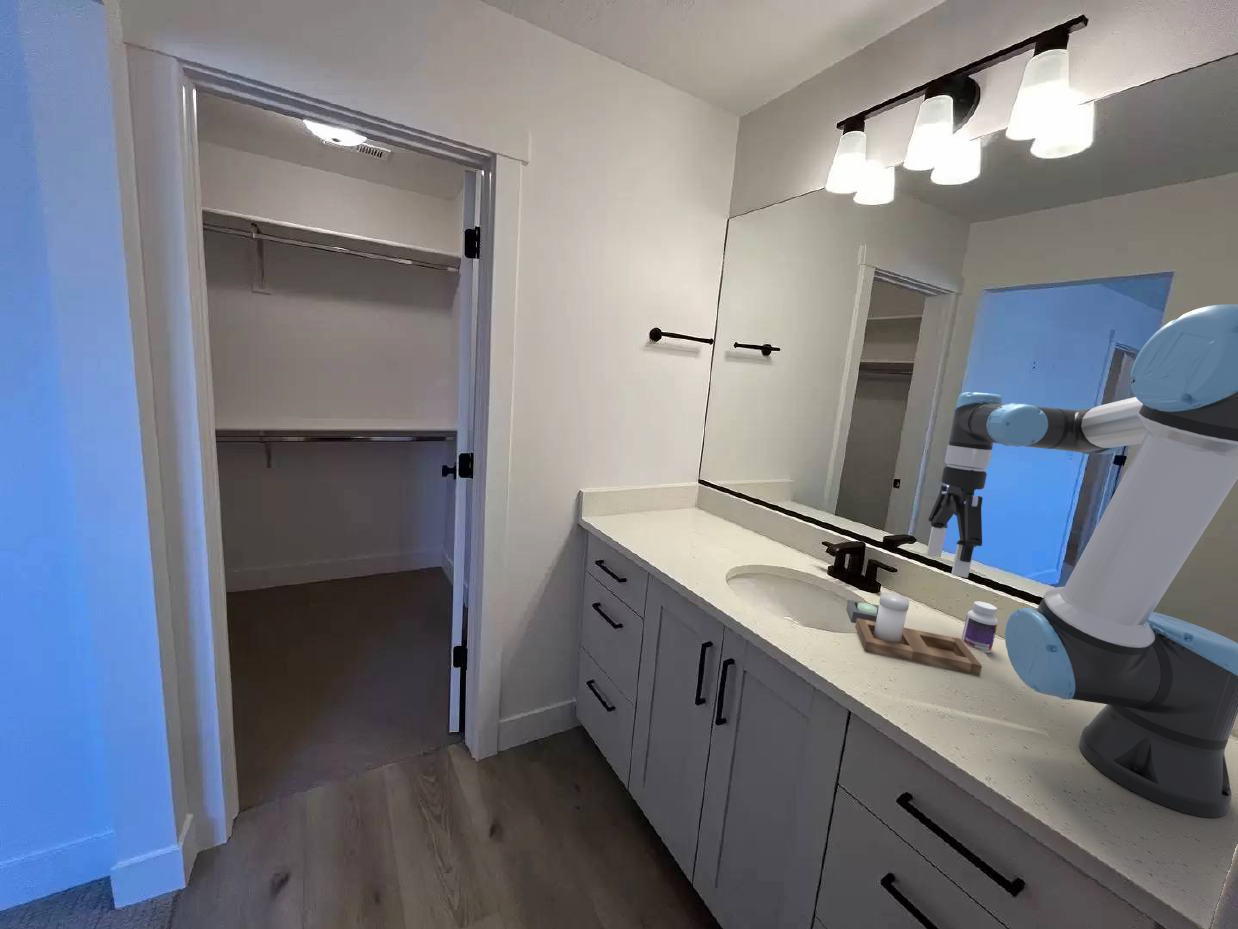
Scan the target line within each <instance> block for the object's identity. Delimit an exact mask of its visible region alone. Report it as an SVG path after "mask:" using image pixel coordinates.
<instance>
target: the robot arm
mask: <svg viewBox="0 0 1238 929" xmlns="http://www.w3.org/2000/svg"><path fill="white" fill-rule="evenodd" d="M1130 379H1131V380H1133V381H1134V382H1133V383H1131V386H1130V387H1131V392H1132V394H1133V396H1134V397H1130V398H1125V399H1121V400H1118V401H1112V402H1110V403H1106V404H1101V405H1097V406H1092V407H1087V408H1085V409H1067V408H1059V407H1058V408H1056V407H1055V408H1054V407H1046V406H1037V405H1032V404H1027V403H1018V402H1011V403H1003V397H1002V396H1001V394H995V393H986V392H970V391H967V392H962V393H960V394H959V395H958V399H957V402H956V404H955V406H956V407H955V408H954V410H953V412H954V414H953V419H952V425H951V430H950V436H949V440H948V441H949V442H948V444H947V447H946V453H945V457H944V463H945V464H947V465H945V466H944V467H943V470H942V476H941V480H940V481H941V483H942V484H941V486H940V489H939V494H938V496H937V498H936V501H935V503H934V506H933V507H932V510H931V512H930V515H929V517H928V522H930V526H931V528H930V533H929V534H930V535H929V539H928V544H927V545H928V546H927V548H926V555H927V556H929V557H930V556H931V557H937V558H942V553H943V547H944V542H945V537H946V532H947V529H948V528H949V527H948V526H949V525H948V523H949V521H950V520H951V519H952V517H953V516H954V515H955V516H956V520H957V526H958V527H957V528H958V534H959V535H958V536H959V540H958V541H957V542H956V548H955V549H956V550H955V553H954V557H953V558H954V559H953V563H952V564H953V565H952V570H951V576H954V577H961V578H968V577H969V574H970V568H971V564H972V559H973V556H974V555H973V554H974V551H975V550H974V549H975V548H976V547H982V546H983V530H982V528H983V527H982V526H983V523H982V522H983V521H982V505H983V499H984V498H983V496H980V495H975V491H976V490H983V489H984V488H985V485H986V480H987V475H988V473H987V472H986V471H984V470H986V469H988V468H989V464H990V460H991V459H992V458H993V454H992V450H993V447H994V444H998V445H1003V446H1006V447H1017V448H1019V447H1025V448H1026V447H1027V448H1036V449H1047V450H1055V451H1056V450H1058V451H1067V452H1075V453H1082V454H1086V455H1094V454H1095V455H1109V454H1113V453H1116V452H1117V451H1118V450H1119V449H1122V448H1123V447H1126V446H1132V445H1138V444H1139V447H1138V448H1137V451H1136V452H1135V454H1134V456H1133V457H1132V459H1131V461H1130V463H1129V465H1128V467H1127V469H1126V471H1125V473H1124V474H1123V476H1122V479H1121V480H1120V482H1119V484H1118V486H1117V488H1116V490H1115V492H1114V494H1113V495H1112V498H1111V499H1110V500H1109V503H1108V505H1107V506H1106V508H1105V510H1104V512H1103V515H1102V516H1101V518H1100V520H1099V522H1098V524H1097V525H1096V528H1095V529H1094V531H1093V533H1092V535H1091V537H1090V538H1089V541H1088V542H1087V544H1086V546H1085V548H1084V550H1083V552H1082V554H1081V555H1080V558H1079V560H1078V561H1077V562H1076V564H1075V567H1074V568H1073V570H1072V572H1071V575H1070V576H1069V578H1068V580H1067V581H1066V583H1065V585H1064V586H1058V587H1052V588H1049V589H1048V590H1047V591H1046V592H1045V593H1044V595H1043V597H1042V600H1040V603H1039V605H1038V607H1037V608H1033V607H1023V608H1020V609H1015V610H1013V611H1012V613H1011V614H1010V615H1009V617H1008V619H1007V621H1006V623H1005V630H1004V639H1005V648H1006V650H1007V655H1008V658H1009V661H1010V663H1011V666H1012V668H1013V670H1014V672H1015V673H1016V675H1017V676H1018V677H1019V679H1020V680H1021V681H1022V682H1023V683H1024V684H1025V685H1026V686H1027V687H1028V688H1030V689H1031V690H1033V691H1034V692H1036V693H1039V694H1043V695H1045V696H1046V695H1048V696H1051V697H1052V696H1053V697H1056V698H1059V699H1060V700H1061V699H1062V700H1075V701H1081V702H1087V703H1096V704H1103V705H1105V706H1103V708H1102V709H1101V710H1100V711H1099V713H1097V715H1095V717H1093V719H1092V720H1091V721H1090V723H1089V724H1088V725H1086V726H1085V727H1084V728H1083V730H1082V731H1081V735H1080V739H1079V743H1078V747H1079V750H1080V752H1081V754H1082V755H1083V757H1084V758H1085V759H1086V760H1087V761H1088V762H1089V763H1090V764H1091V765H1093V767H1094V768H1096V769H1097V770H1098V771H1100V772H1101V773H1102V774H1104V775H1105V776H1106V777H1108V778H1110V779H1111V780H1112V781H1114V782H1115V783H1117V784H1119V785H1121V786H1122V787H1124V788H1125V789H1128V790H1129V791H1132V792H1133V793H1135V794H1137V795H1139V796H1141V797H1143V798H1146V799H1147V800H1150V801H1152V802H1154V803H1157V804H1159V805H1161V806H1164V807H1167V808H1169V809H1172V810H1175V811H1178V812H1181V813H1184V814H1188V815H1192V816H1196V817H1204V818H1221V817H1223V816H1225V815H1226V814H1228V813H1227V812H1228V810H1229V807H1230V806H1231V805H1230V804H1231V802H1232V790H1231V784H1230V777H1229V772H1228V766H1227V761H1226V755H1225V752H1226V747H1227V744H1228V741H1229V740H1230V739H1229V738H1230V735H1231V733H1232V730H1233V727H1234V724H1235V722H1236V718H1237V716H1238V642H1236V641H1234V640H1232V639H1230V638H1228V637H1226V636H1223V635H1221V634H1219V633H1217V632H1214V631H1212V630H1209V629H1207V628H1204V627H1202V626H1199V625H1197V624H1193V623H1191V622H1188V621H1185V620H1182V619H1180V618H1176V617H1173V616H1170V615H1167V614H1163V613H1159V612H1155V609H1156V607H1157V606H1158V604H1159V603H1160V601H1161V600H1162V597H1163V596H1164V595H1165V593H1166V591H1167V590H1168V589H1169V587H1170V585H1171V584H1172V582H1173V581H1174V579H1175V577H1176V576H1177V575H1178V573H1179V571H1180V570H1181V568H1182V567H1183V565H1184V564H1185V562H1186V560H1187V559H1188V557H1189V556H1190V554H1191V552H1192V551H1193V549H1194V548H1195V546H1196V544H1197V543H1198V541H1199V540H1200V539H1201V537H1202V535H1203V533H1204V532H1205V531H1206V529H1207V527H1208V525H1209V524H1210V523H1211V521H1212V520H1213V518H1214V517H1215V515H1216V513H1217V512H1218V510H1219V509H1220V508H1221V506H1222V504H1223V502H1224V500H1225V499H1226V498H1227V496H1228V495H1229V493H1230V491H1231V490H1232V489H1233V487H1234V485H1235V484H1236V482H1237V480H1238V304H1214V305H1207V306H1203V307H1199V308H1196V309H1193V310H1191V311H1189V312H1185V313H1184V314H1182V315H1181V316H1179V318H1175V319H1173V320H1170V321H1168V323H1166V324H1165V325H1163V326H1162V327H1161V328H1160V329H1159V330H1157V331H1156V332H1155V333H1153V335H1152V336H1151V337H1150V338H1149V339H1148V340H1147V341H1146V343H1145V344H1144V345H1143V346H1142V348H1141V350H1139V352H1138V354H1137V356H1136V358H1135V360H1134V363H1133V365H1132V368H1131V371H1130Z"/></svg>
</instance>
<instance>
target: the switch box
mask: <svg viewBox="0 0 1238 929" xmlns="http://www.w3.org/2000/svg"><path fill="white" fill-rule="evenodd" d="M858 603H865V602H863V601H858V600H853V599H847V604H846V609H845V610H846V613H847V615H848V618H849V620H850V622H851V623H852V624H856V620H857V618H859V619H864V620H869V621H874V622H876V619H877V614H878V609H879V605H878V604H873V603H868V602H867V603H868V604H871V605H873V606H875V607H876V608H877V613H876V614H872V613H867V612H862V611H858V610H857V606H858Z"/></svg>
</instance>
